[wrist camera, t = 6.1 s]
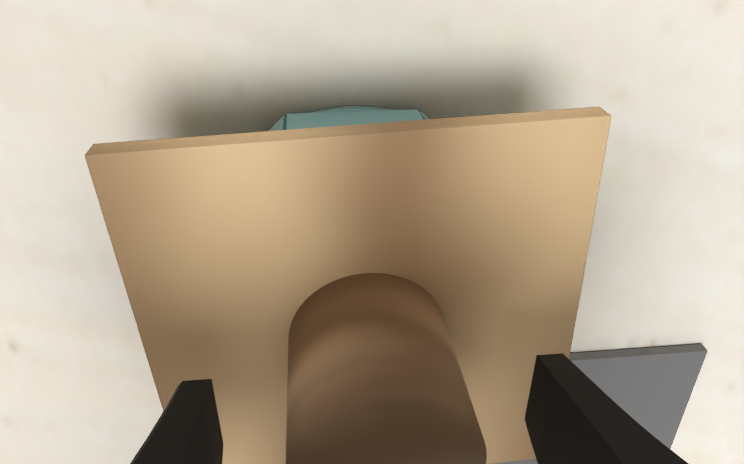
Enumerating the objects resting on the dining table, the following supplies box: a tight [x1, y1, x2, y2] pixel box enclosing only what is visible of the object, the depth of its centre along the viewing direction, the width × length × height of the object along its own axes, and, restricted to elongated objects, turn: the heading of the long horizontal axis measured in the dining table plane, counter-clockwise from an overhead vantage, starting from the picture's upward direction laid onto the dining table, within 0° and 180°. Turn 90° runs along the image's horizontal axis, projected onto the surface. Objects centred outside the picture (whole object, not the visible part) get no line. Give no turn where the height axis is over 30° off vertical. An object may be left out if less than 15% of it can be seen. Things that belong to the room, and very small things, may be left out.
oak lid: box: [85, 107, 611, 464], centre depth 14 cm, size 11×11×5 cm
